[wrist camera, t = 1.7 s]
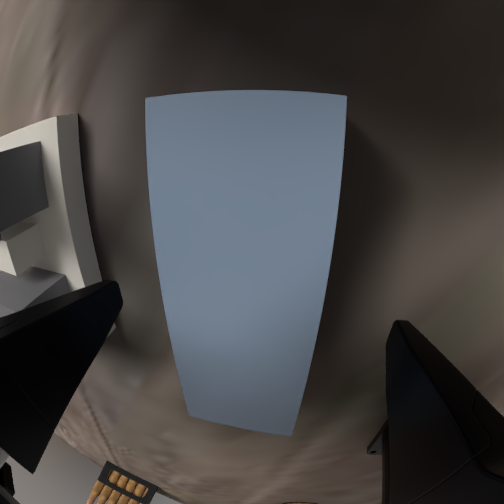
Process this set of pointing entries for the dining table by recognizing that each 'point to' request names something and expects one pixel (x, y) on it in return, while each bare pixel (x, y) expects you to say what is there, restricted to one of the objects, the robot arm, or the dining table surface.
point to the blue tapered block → (244, 243)
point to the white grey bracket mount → (43, 216)
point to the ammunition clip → (121, 487)
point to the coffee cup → (300, 503)
